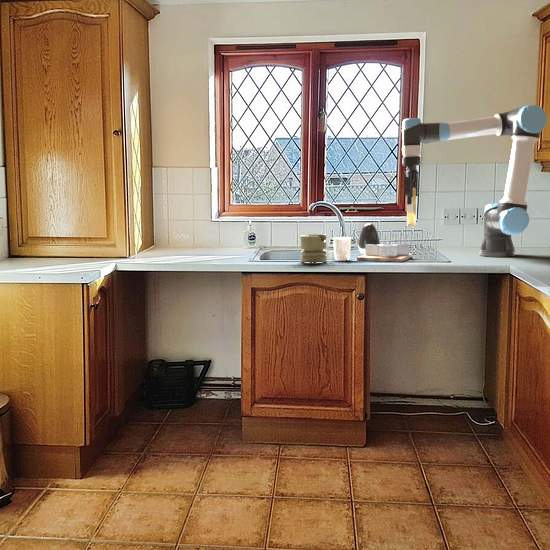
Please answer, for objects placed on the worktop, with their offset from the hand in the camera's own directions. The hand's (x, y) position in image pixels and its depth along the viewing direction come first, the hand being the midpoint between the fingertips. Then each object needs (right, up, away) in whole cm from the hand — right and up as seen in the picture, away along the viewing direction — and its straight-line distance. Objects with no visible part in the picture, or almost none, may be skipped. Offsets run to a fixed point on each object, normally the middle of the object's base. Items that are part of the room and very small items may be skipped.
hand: (411, 211), depth 272 cm
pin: (0, -6, +1) cm, 6 cm away
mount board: (-9, -20, +15) cm, 26 cm away
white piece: (-8, -18, +15) cm, 25 cm away
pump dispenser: (-13, -18, +32) cm, 39 cm away
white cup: (-28, -20, +16) cm, 38 cm away
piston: (-41, -21, +11) cm, 47 cm away
